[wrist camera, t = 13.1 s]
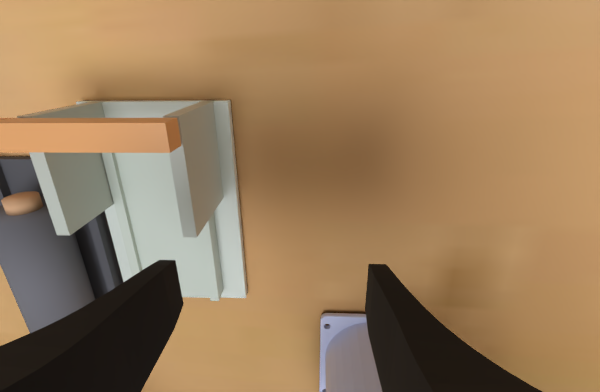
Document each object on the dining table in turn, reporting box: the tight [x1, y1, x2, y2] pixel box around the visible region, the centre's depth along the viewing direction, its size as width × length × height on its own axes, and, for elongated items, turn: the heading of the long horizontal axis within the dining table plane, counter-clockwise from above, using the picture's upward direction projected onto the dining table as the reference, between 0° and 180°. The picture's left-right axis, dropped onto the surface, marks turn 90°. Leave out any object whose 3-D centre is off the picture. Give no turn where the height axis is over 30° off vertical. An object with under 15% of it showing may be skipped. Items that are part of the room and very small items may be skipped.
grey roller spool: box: [0, 191, 96, 333], centre depth 22 cm, size 11×4×4 cm, turn 1°
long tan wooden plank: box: [0, 118, 181, 153], centre depth 14 cm, size 1×9×1 cm, turn 91°
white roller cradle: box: [17, 100, 248, 301], centre depth 20 cm, size 14×9×6 cm, turn 1°
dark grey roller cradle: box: [0, 157, 123, 299], centre depth 23 cm, size 12×6×1 cm, turn 1°
